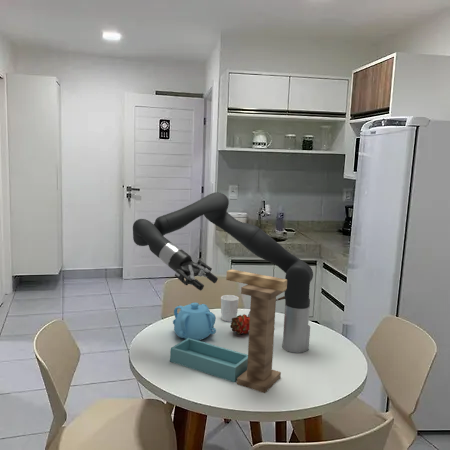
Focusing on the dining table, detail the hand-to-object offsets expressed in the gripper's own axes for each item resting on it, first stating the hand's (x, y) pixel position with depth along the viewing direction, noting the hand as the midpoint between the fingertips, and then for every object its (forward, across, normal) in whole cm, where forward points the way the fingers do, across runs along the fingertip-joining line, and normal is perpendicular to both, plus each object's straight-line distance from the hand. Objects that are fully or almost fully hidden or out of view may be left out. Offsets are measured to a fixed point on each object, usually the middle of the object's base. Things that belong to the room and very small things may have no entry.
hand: (209, 284), depth 152 cm
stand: (+31, +2, -17) cm, 35 cm away
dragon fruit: (+10, -30, -30) cm, 44 cm away
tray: (+14, +2, -25) cm, 29 cm away
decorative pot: (-3, -16, -35) cm, 39 cm away
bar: (+14, -1, +10) cm, 18 cm away
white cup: (-1, -41, -36) cm, 54 cm away
